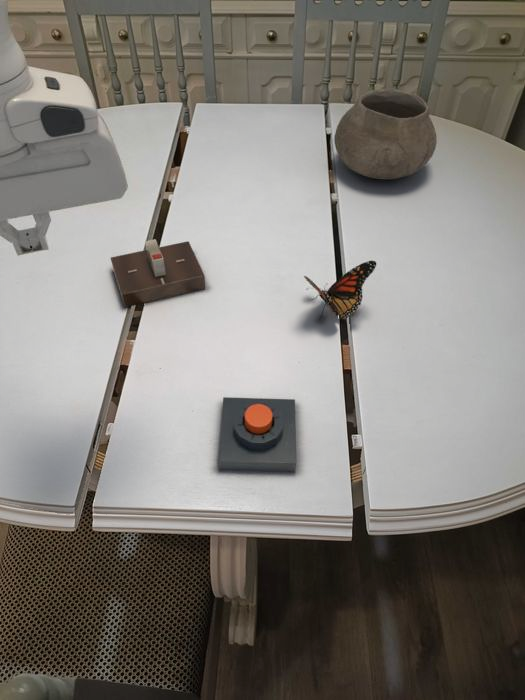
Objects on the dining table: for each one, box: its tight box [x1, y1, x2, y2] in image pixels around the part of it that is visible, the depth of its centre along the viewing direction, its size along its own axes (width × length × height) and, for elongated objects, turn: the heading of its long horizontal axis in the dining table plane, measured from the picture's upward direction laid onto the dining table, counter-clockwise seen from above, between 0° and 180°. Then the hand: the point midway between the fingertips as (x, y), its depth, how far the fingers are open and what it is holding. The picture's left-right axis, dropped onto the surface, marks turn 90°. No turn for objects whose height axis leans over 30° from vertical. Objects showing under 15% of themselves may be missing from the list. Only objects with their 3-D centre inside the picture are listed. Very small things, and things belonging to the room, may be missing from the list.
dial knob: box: [144, 238, 166, 277], centre depth 89 cm, size 6×2×4 cm, turn 21°
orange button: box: [245, 404, 273, 434], centre depth 69 cm, size 4×4×2 cm
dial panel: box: [110, 241, 207, 308], centre depth 92 cm, size 14×10×3 cm
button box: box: [217, 396, 298, 472], centre depth 71 cm, size 10×10×4 cm
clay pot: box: [333, 88, 438, 180], centre depth 113 cm, size 22×21×15 cm
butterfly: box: [303, 260, 377, 320], centre depth 85 cm, size 12×10×10 cm
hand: (33, 249), depth 52 cm, fingers closed
